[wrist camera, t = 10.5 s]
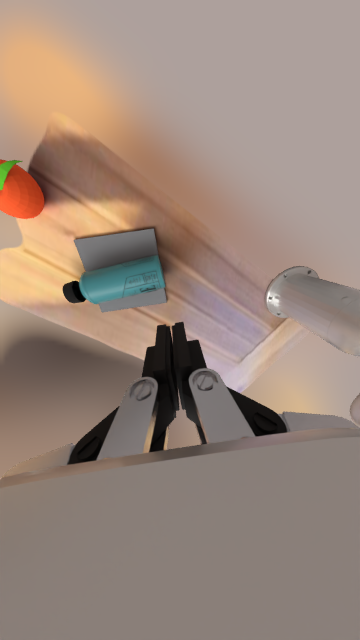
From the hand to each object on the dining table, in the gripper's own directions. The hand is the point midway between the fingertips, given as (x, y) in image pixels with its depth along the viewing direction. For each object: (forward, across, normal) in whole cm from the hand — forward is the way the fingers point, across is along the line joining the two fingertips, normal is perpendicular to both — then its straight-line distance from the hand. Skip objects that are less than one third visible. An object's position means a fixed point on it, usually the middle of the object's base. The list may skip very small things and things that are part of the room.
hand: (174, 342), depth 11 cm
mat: (+27, +9, 0) cm, 28 cm away
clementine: (+27, +21, -15) cm, 37 cm away
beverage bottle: (+23, 0, 0) cm, 23 cm away
